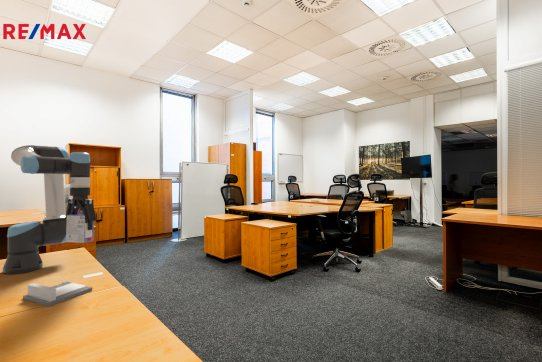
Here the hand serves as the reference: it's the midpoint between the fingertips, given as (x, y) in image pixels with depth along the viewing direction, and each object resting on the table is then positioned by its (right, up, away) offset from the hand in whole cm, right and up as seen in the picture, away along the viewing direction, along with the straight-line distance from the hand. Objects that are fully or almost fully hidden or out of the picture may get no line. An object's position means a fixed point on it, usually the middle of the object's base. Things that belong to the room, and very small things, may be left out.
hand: (80, 236), depth 125 cm
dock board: (+2, -20, -15) cm, 25 cm away
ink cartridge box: (0, -3, 0) cm, 3 cm away
